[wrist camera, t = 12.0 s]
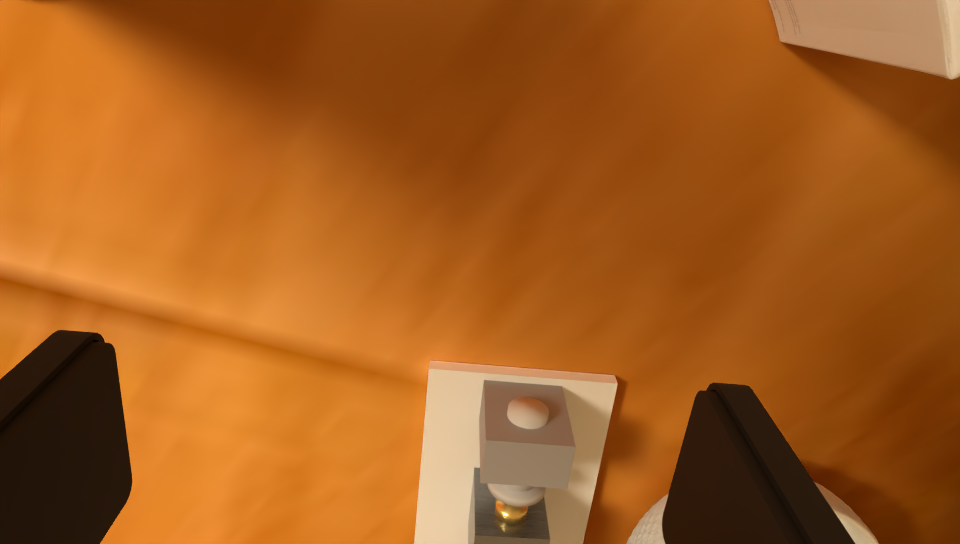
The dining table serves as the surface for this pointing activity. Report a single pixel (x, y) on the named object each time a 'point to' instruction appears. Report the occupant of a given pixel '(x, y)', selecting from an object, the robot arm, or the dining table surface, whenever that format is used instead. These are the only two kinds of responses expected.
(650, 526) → the cereal bowl
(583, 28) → the dining table surface
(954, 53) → the skincare box
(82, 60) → the dining table surface
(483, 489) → the joint block
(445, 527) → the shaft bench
